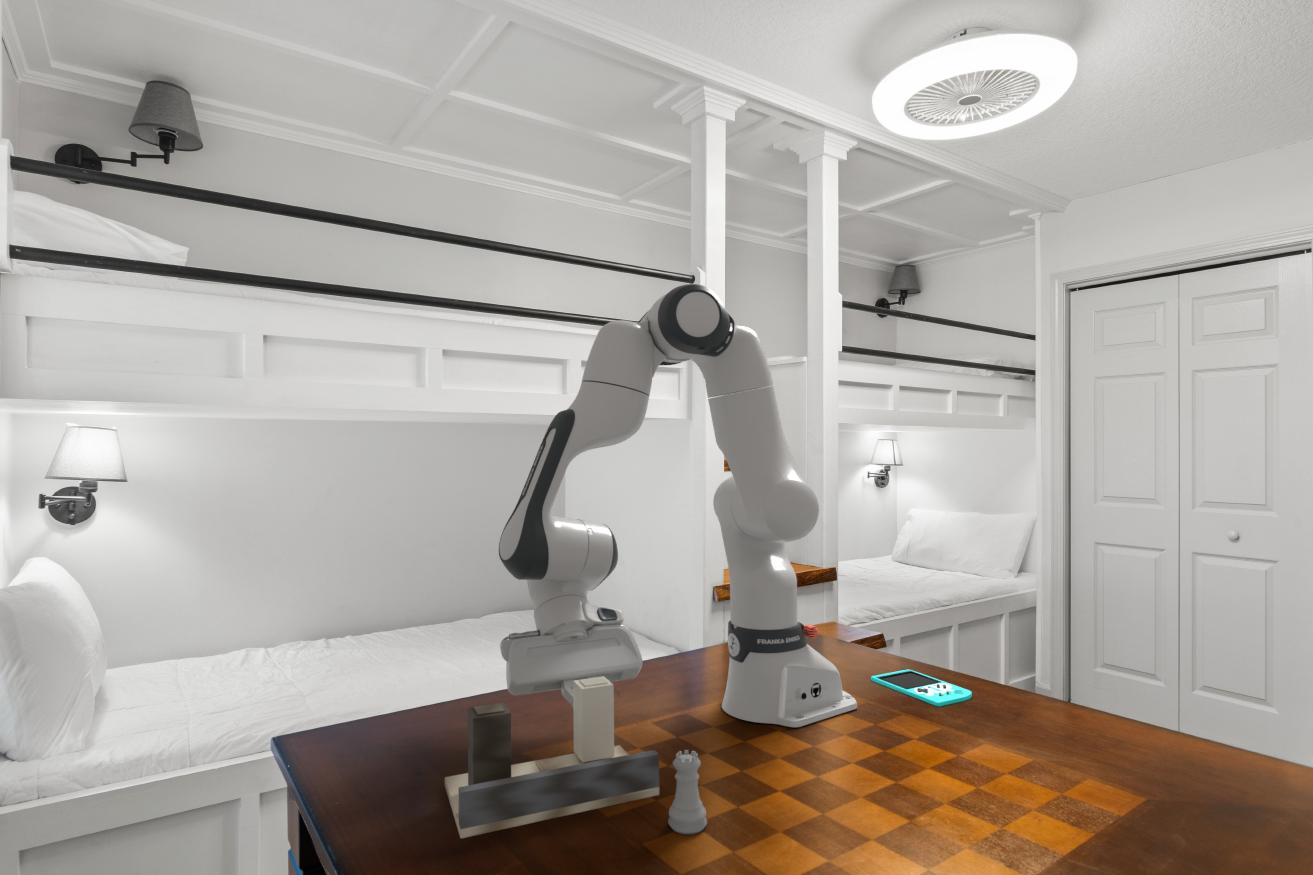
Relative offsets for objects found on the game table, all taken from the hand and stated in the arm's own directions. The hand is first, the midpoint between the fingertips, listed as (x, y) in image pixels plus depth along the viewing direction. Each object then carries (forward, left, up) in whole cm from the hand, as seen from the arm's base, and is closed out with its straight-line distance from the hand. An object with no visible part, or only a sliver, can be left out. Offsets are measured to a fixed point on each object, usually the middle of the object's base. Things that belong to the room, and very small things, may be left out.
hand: (585, 711), depth 100 cm
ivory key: (0, +4, -5) cm, 6 cm away
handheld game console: (-63, -1, -7) cm, 64 cm away
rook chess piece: (-5, +24, -6) cm, 25 cm away
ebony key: (+15, +8, -5) cm, 18 cm away
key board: (+7, +9, -6) cm, 13 cm away
